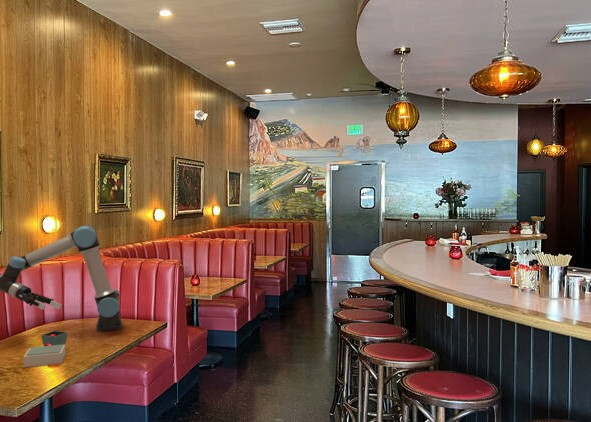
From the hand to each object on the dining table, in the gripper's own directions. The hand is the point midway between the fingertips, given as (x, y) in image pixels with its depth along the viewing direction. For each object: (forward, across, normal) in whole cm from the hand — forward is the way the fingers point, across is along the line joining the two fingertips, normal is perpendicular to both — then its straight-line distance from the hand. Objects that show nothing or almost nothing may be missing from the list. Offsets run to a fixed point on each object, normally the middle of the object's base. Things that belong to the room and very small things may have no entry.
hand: (52, 307), depth 256 cm
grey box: (+19, +17, -19) cm, 32 cm away
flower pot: (+13, +2, -18) cm, 23 cm away
